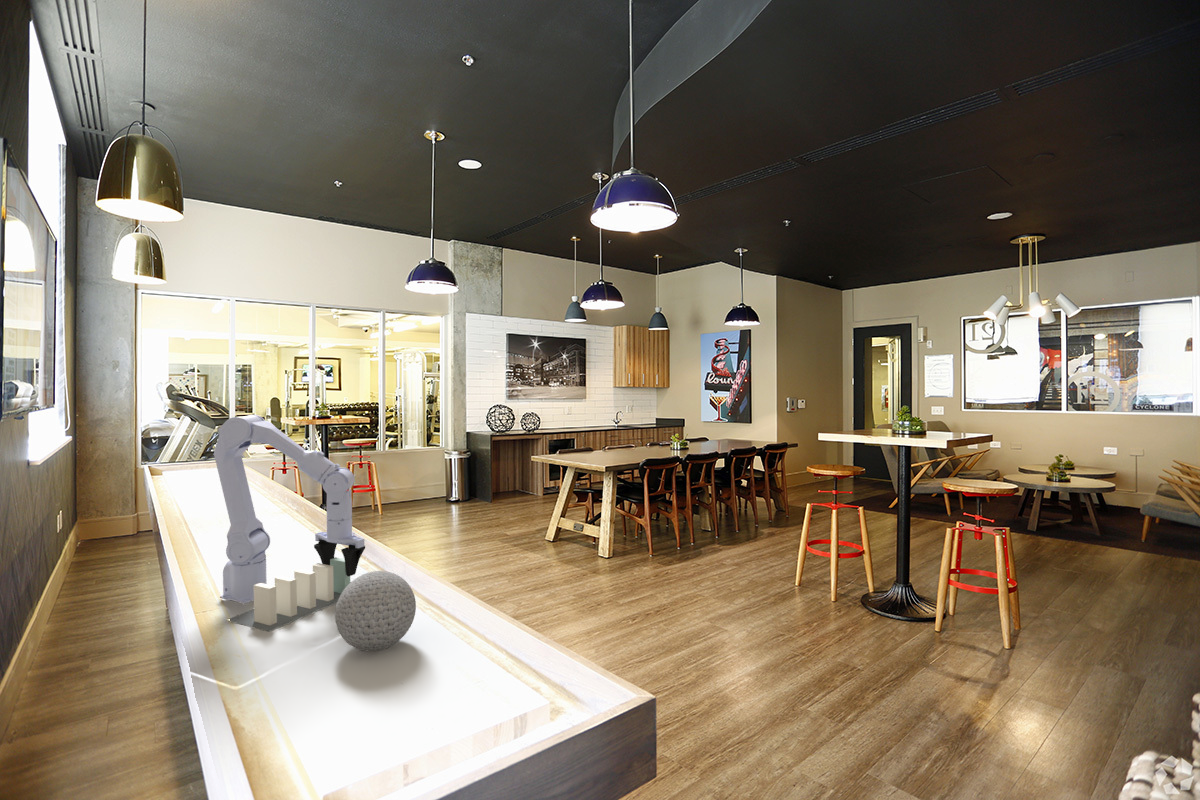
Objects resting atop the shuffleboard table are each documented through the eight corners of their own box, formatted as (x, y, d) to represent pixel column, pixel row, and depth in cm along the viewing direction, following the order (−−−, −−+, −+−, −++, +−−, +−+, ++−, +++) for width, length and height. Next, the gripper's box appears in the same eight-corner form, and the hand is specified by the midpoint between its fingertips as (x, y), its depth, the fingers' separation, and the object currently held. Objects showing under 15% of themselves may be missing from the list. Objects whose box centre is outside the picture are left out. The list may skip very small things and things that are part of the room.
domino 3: (310, 608, 136) (309, 574, 135) (294, 605, 138) (294, 571, 137) (316, 606, 137) (315, 572, 137) (300, 602, 139) (300, 569, 139)
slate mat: (224, 621, 129) (224, 619, 129) (333, 580, 156) (333, 578, 156) (268, 633, 124) (268, 631, 124) (373, 588, 150) (373, 586, 150)
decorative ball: (338, 672, 108) (337, 591, 107) (333, 639, 121) (332, 567, 120) (422, 654, 115) (422, 578, 114) (409, 625, 128) (408, 557, 127)
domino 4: (328, 601, 140) (327, 568, 140) (313, 597, 142) (312, 565, 142) (333, 599, 142) (333, 566, 141) (318, 595, 144) (318, 563, 143)
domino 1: (269, 625, 127) (269, 588, 126) (254, 621, 129) (253, 585, 128) (276, 622, 128) (276, 586, 128) (261, 618, 130) (260, 582, 130)
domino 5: (345, 594, 145) (344, 561, 144) (330, 591, 147) (330, 559, 147) (350, 592, 146) (350, 560, 146) (335, 588, 148) (335, 557, 148)
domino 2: (290, 616, 131) (290, 581, 131) (275, 613, 133) (274, 578, 133) (297, 614, 133) (296, 579, 132) (281, 610, 135) (281, 575, 134)
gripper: (373, 518, 146) (374, 572, 147) (331, 511, 152) (332, 563, 153) (351, 524, 140) (351, 581, 141) (307, 517, 146) (308, 572, 147)
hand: (339, 572), depth 146 cm, fingers open, 7 cm apart
